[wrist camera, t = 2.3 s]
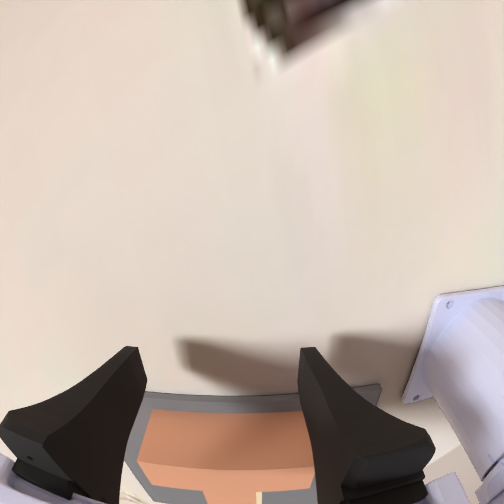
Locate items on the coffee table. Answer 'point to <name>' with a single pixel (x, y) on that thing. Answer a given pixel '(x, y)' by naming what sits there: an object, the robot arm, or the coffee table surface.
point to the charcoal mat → (185, 500)
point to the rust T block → (227, 453)
